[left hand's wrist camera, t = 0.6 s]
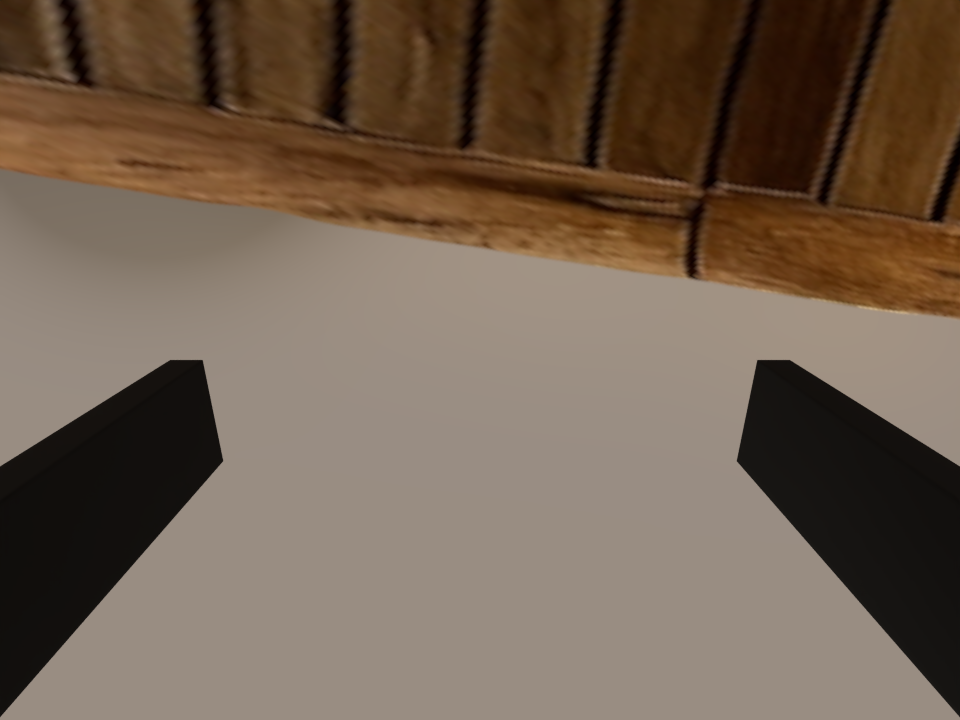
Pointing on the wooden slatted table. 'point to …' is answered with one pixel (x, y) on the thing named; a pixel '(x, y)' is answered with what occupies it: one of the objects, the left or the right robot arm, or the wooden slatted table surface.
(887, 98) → the wooden slatted table surface
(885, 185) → the wooden slatted table surface
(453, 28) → the wooden slatted table surface
